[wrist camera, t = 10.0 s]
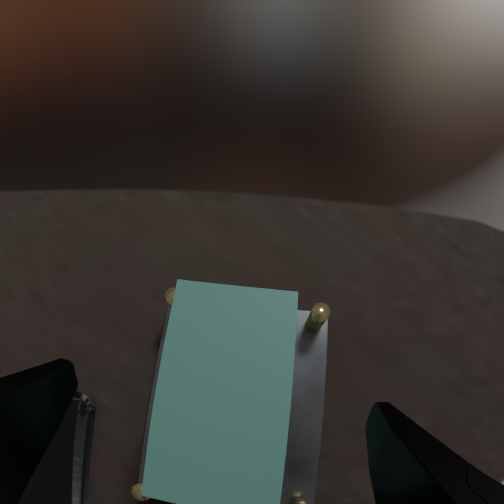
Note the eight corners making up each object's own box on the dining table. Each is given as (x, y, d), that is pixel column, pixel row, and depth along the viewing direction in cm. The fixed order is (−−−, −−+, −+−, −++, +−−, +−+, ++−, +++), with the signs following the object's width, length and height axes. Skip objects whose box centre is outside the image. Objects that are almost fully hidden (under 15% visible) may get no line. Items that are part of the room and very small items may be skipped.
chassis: (308, 512, 16) (319, 526, 12) (141, 490, 16) (124, 500, 13) (324, 317, 23) (336, 299, 20) (173, 301, 24) (162, 281, 21)
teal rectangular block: (262, 469, 17) (277, 516, 7) (195, 461, 17) (141, 495, 7) (274, 356, 21) (297, 291, 11) (210, 349, 21) (177, 279, 11)
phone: (93, 396, 19) (83, 561, 11) (99, 397, 20) (89, 557, 12) (18, 370, 19) (8, 521, 11) (25, 373, 20) (15, 519, 12)
